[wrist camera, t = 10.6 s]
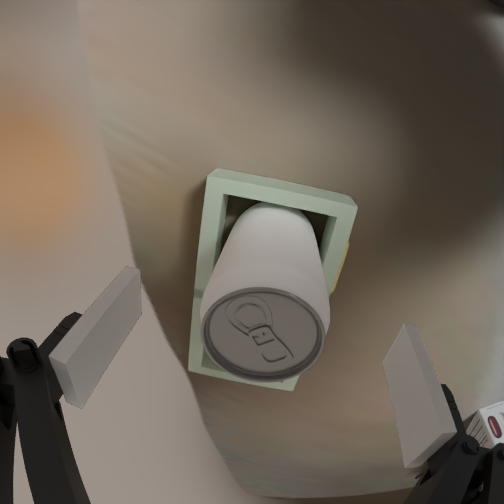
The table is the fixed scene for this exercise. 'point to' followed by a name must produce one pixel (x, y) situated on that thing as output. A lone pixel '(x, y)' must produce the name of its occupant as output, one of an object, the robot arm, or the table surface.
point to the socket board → (211, 235)
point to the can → (266, 297)
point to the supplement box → (488, 425)
